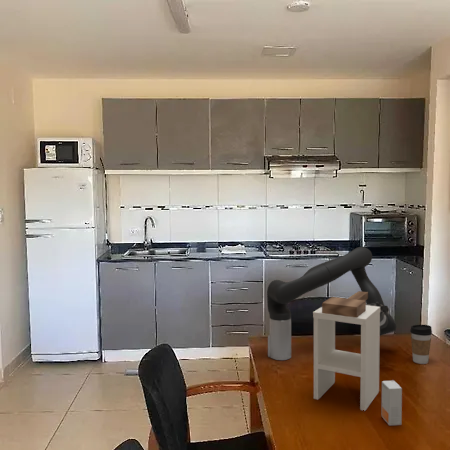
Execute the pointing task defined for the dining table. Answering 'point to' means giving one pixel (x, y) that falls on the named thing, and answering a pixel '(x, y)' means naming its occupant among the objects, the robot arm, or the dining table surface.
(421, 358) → the coffee cup
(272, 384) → the dining table surface
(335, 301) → the walnut mallet
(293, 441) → the dining table surface
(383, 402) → the skincare box
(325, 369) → the shelf stand
